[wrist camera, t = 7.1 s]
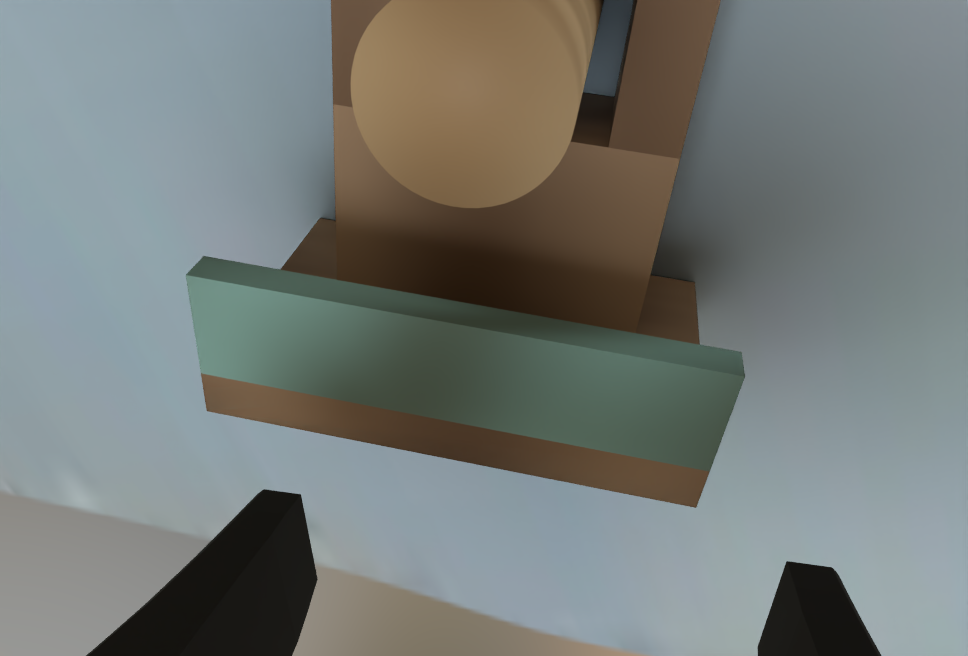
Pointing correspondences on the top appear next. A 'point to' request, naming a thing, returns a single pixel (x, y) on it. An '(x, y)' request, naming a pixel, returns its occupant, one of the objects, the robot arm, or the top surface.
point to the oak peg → (472, 93)
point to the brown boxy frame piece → (494, 299)
